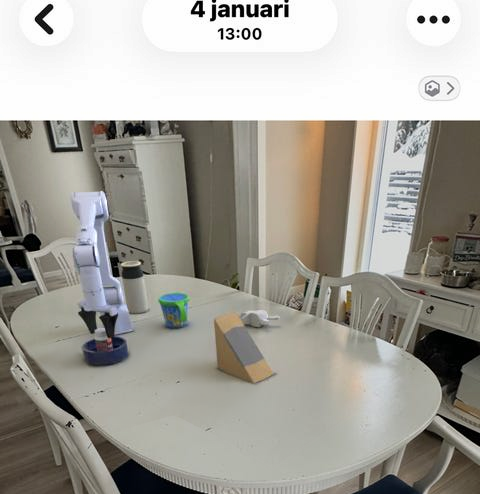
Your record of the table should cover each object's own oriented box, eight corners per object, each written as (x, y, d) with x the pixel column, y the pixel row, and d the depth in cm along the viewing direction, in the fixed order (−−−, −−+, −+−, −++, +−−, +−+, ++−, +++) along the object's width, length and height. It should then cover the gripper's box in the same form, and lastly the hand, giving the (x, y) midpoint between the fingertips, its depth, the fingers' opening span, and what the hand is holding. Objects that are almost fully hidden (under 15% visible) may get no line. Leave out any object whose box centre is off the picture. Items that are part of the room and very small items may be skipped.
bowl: (121, 346, 153) (118, 333, 151) (134, 359, 143) (132, 345, 141) (80, 355, 148) (77, 341, 146) (91, 370, 138) (87, 355, 136)
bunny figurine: (251, 306, 171) (282, 309, 161) (252, 320, 173) (283, 324, 163) (232, 313, 165) (263, 316, 155) (234, 327, 168) (265, 331, 158)
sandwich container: (254, 384, 126) (252, 330, 118) (216, 368, 136) (213, 318, 128) (275, 373, 131) (275, 321, 123) (237, 359, 141) (235, 310, 133)
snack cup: (197, 329, 164) (194, 300, 159) (168, 334, 161) (164, 305, 155) (184, 316, 176) (181, 289, 171) (157, 321, 173) (153, 293, 168)
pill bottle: (113, 358, 144) (108, 331, 139) (97, 359, 143) (92, 333, 139) (115, 352, 148) (110, 326, 143) (99, 353, 147) (94, 327, 143)
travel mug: (152, 309, 186) (145, 262, 176) (138, 315, 180) (131, 266, 170) (137, 306, 189) (130, 260, 180) (123, 312, 184) (115, 264, 174)
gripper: (65, 290, 135) (76, 335, 143) (99, 296, 128) (109, 343, 136) (84, 284, 140) (93, 328, 147) (118, 290, 133) (126, 335, 140)
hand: (102, 335), depth 142 cm, fingers open, 7 cm apart
